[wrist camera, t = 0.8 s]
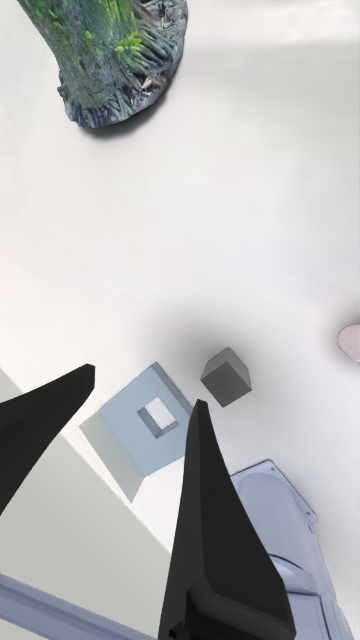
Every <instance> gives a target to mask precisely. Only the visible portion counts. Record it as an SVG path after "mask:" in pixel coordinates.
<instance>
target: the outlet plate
mask: <svg viewBox="0 0 360 640" xmlns="http://www.w3.org/2000/svg"><path fill="white" fill-rule="evenodd" d="M157 396H158V397H159V398H160V400H161V401H162V402H163V404H164V405H165V406H166V407H167V409H168V410H169V411H170V413H171V414H172V415H173V417H174V418H175V419H176V421H175V422H174V423H172V424H171V425H169V426H168V427H166V428H164V429H163V430H161V429H160V428H159V427H158V425H157V424H156V423H155V421H154V420H153V419H152V417H151V416H150V415H149V413H148V412H147V410H146V409H145V408H144V406H145V405H147V404H148V403H149V402H151V401H152V400H153V399H155V398H156V397H157ZM192 411H193V408H192V407H191V406H190V404H189V403H188V402H187V400H186V399H185V398H184V397H183V395H182V394H181V393H180V392H179V390H178V389H177V388H176V386H175V385H174V384H173V383H172V381H171V380H170V379H169V377H168V376H167V375H166V374H165V372H164V371H163V370H162V369H161V367H160V366H159V365H158V363H157V362H155V363H154V364H153V365H152V366H150V367H149V368H148V369H147V370H146V371H144V372H143V373H142V374H141V375H140V376H139V377H137V378H136V379H135V380H134V381H133V382H131V383H130V384H129V385H128V386H127V387H125V388H124V389H123V390H122V391H121V392H119V393H118V394H117V395H116V396H115V397H114V398H112V399H111V400H110V401H109V402H108V403H106V404H105V405H104V406H103V407H102V408H100V409H99V410H98V411H97V412H96V413H94V414H93V415H92V416H91V417H90V418H88V419H87V420H86V421H85V422H83V423H82V424H81V425H80V426H78V427H77V428H76V429H75V431H76V432H77V434H78V435H79V437H80V438H81V440H82V441H83V443H84V444H85V446H86V447H87V449H88V450H89V452H90V453H91V455H92V456H93V458H94V459H95V461H96V462H97V463H98V465H99V466H100V468H101V469H102V471H103V472H104V474H105V475H106V477H107V478H108V480H109V481H110V483H111V484H112V486H113V487H114V489H115V490H116V492H117V493H118V494H119V496H120V497H121V499H122V500H123V502H124V503H125V505H126V506H127V505H129V504H131V503H132V501H133V499H134V497H135V495H136V493H137V491H138V489H139V487H140V485H141V483H142V481H143V479H144V477H146V476H148V475H150V474H152V473H154V472H155V471H157V470H159V469H161V468H163V467H165V466H166V465H168V464H170V463H172V462H174V461H176V460H178V459H179V458H181V457H183V456H185V448H186V436H187V430H188V424H189V419H190V417H191V414H192Z"/></svg>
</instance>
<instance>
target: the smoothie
mask: <svg viewBox="0 0 360 640" xmlns="http://www.w3.org/2000/svg"><path fill="white" fill-rule="evenodd" d="M337 342H338V345H339V347H340V349H341V350H343V351H344V352H345V353H346V354H348V355H349V356H350V357H352V358H353V359H354V360H356V361H357V362H358V363H360V324H355V325H350V326H348V327H346V328H344V329H343V330H342V331H341V332H340V333H339V335H338V338H337Z"/></svg>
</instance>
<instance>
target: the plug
mask: <svg viewBox="0 0 360 640" xmlns="http://www.w3.org/2000/svg"><path fill="white" fill-rule="evenodd" d="M200 380H201V382H202V383H203V384H204V385H205V387H206V388H207V389H208V390H209V391H210V393H211V394H212V395H213V396H214V398H215V399H216V400H217V401H218V403H219V404H220V405H221V406H222V408H223V407H225V406H227V405H228V404H230V403H232V402H233V401H235V400H237V399H238V398H240V397H242V396H243V395H245V394H246V393H248V392H250V391H251V390H252V388H251V383H250V377H249V372H248V368H247V367H246V366H245V365H244V364H243V363H242V361H241V360H240V359H239V358H238V357H237V355H236V354H235V353H234V352H233V351H232V350H231V348H230V347H228V348H226V349H225V350H223V351H222V352H221V353H219V354H218V355H217V356H215V357H214V358H213V359H211V360H210V361H208V363H207V365H206V367H205V370H204V372H203V374H202V377H201V379H200Z"/></svg>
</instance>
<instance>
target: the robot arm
mask: <svg viewBox="0 0 360 640" xmlns="http://www.w3.org/2000/svg"><path fill="white" fill-rule="evenodd" d="M94 385H95V366H93V365H90V364H85V365H83V366H81V367H79V368H77V369H75V370H73V371H71V372H69V373H67V374H65V375H64V376H62V377H60V378H58V379H55V380H53V381H51V382H49V383H47V384H45V385H43V386H41V387H39V388H36V389H34V390H32V391H30V392H28V393H25V394H23V395H20V396H18V397H15V398H13V399H10V400H8V401H5V402H2V403H0V515H1V514H2V512H3V511H4V509H5V508H6V506H7V504H8V503H9V501H10V500H11V498H12V497H13V495H14V494H15V493H16V491H17V490H18V488H19V487H20V485H21V484H22V482H23V481H24V479H25V478H26V476H27V475H28V473H29V472H30V470H31V469H32V468H33V466H34V465H35V463H36V462H37V461H38V459H39V458H40V457H41V455H42V454H43V452H44V451H45V450H46V448H47V447H48V446H49V444H50V443H51V441H52V440H53V439H54V438H55V437H56V435H57V434H58V433H59V432H60V431H61V429H62V428H63V427H64V426H65V425H66V424H67V422H68V421H69V420H70V419H71V418H72V417H73V415H74V414H75V413H76V412H77V411H78V410H79V408H80V407H81V406H82V405H83V404H84V402H85V401H86V400H87V398H88V397H89V395H90V394H91V392H92V391H93V389H94ZM271 467H273V468H271ZM317 522H318V519H317V517H316V515H315V514H314V513H313V512H312V510H311V509H310V508H309V507H308V505H307V504H306V503H305V502H304V501H303V499H302V498H301V497H300V496H299V494H298V493H297V492H296V491H295V489H294V488H293V487H292V486H291V485H290V483H289V482H288V481H287V480H286V478H285V477H284V476H283V475H282V473H281V472H280V471H279V470H278V469H277V467H276V466H275V465H274V464H273V462H272V461H266V462H263V463H261V464H259V465H256V466H254V467H252V468H250V469H247V470H245V471H243V472H240V473H238V474H236V475H233V476H231V477H230V475H229V473H228V470H227V468H226V465H225V463H224V460H223V457H222V454H221V452H220V449H219V446H218V443H217V439H216V436H215V433H214V429H213V426H212V422H211V418H210V414H209V409H208V404H207V402H205V401H202V400H199V399H197V401H196V404H195V406H194V409H193V411H192V414H191V417H190V419H189V424H188V430H187V436H186V448H185V461H184V474H183V485H182V493H181V499H180V506H179V513H178V519H177V525H176V532H175V538H174V544H173V550H172V556H171V562H170V568H169V574H168V579H167V585H166V591H165V596H164V602H163V608H162V613H161V619H160V626H159V633H158V639H156V638H153V637H151V636H148V635H146V634H144V633H141V632H139V631H137V630H134V629H132V628H129V627H127V626H125V625H122V624H120V623H118V622H115V621H113V620H110V619H108V618H106V617H103V616H101V615H98V614H96V613H94V612H91V611H89V610H87V609H84V608H82V607H79V606H77V605H75V604H72V603H70V602H67V601H65V600H63V599H60V598H58V597H56V596H53V595H51V594H48V593H46V592H43V591H41V590H39V589H36V588H34V587H32V586H29V585H27V584H25V583H22V582H20V581H17V580H15V579H13V578H10V577H8V576H5V575H3V574H0V618H1V619H3V620H6V621H8V622H10V623H13V624H15V625H17V626H19V627H22V628H24V629H26V630H28V631H31V632H33V633H35V634H38V635H40V636H42V637H44V638H47V639H49V640H355V639H354V637H353V635H352V632H351V630H350V627H349V625H348V623H347V620H346V618H345V616H344V614H343V612H342V610H341V608H340V607H339V606H338V605H337V603H336V595H335V591H334V587H333V584H332V581H331V578H330V576H329V573H328V570H327V567H326V564H325V561H324V558H323V555H322V552H321V549H320V546H319V543H318V540H317V537H316V535H315V532H314V529H313V526H312V524H314V523H317Z"/></svg>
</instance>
